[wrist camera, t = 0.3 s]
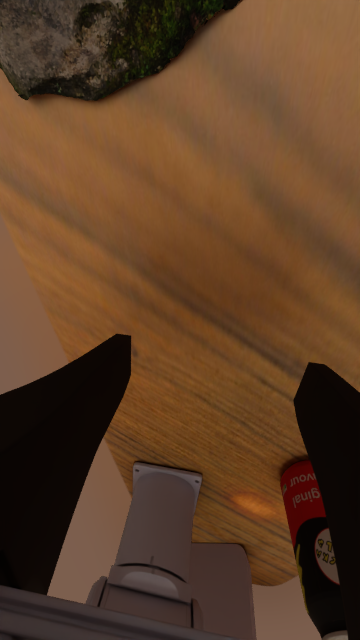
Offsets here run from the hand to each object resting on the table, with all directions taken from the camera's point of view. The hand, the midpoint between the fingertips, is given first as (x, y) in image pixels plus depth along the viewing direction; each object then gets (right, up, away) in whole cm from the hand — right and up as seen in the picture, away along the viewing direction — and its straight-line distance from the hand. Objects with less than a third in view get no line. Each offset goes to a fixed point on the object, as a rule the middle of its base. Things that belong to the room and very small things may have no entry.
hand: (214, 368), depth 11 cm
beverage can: (+12, -14, +17) cm, 26 cm away
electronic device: (+3, -32, +28) cm, 42 cm away
